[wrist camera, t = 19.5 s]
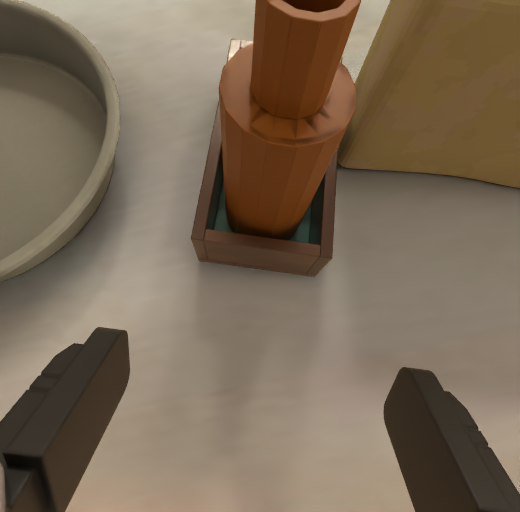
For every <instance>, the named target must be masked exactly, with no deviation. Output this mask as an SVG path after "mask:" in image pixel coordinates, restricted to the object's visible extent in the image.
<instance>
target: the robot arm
mask: <svg viewBox="0 0 520 512" xmlns="http://www.w3.org/2000/svg"><path fill="white" fill-rule="evenodd" d="M129 374H130V362H129V346H128V334H127V331H125V330H118V329H110V328H103V327H98V328H96V329H95V330H94V331H93V333H92V334H91V335H90V337H89V338H88V339H87V341H86V342H85V343H84V345H83V344H75V343H74V344H72V345H71V346H69V347H68V348H66V349H65V350H63V351H62V352H60V353H59V354H57V355H56V356H55V357H54V358H53V359H52V360H51V361H50V363H49V364H48V365H47V366H46V367H45V369H44V370H43V371H42V372H41V375H40V376H38V377H37V378H36V380H35V381H34V382H33V383H32V384H31V386H30V388H29V390H26V392H25V393H24V394H23V395H22V396H21V398H20V399H19V400H18V401H17V402H16V404H15V405H14V406H13V407H12V408H11V410H10V411H9V412H8V413H7V414H6V416H5V417H4V418H3V419H2V420H1V422H0V512H65V510H66V508H67V506H68V504H69V502H70V500H71V498H72V496H73V494H74V492H75V490H76V488H77V486H78V484H79V482H80V480H81V478H82V476H83V474H84V472H85V470H86V468H87V466H88V464H89V462H90V460H91V458H92V456H93V454H94V452H95V450H96V448H97V446H98V444H99V442H100V440H101V438H102V436H103V434H104V432H105V430H106V428H107V426H108V424H109V422H110V420H111V418H112V416H113V414H114V412H115V410H116V408H117V406H118V404H119V402H120V400H121V398H122V396H123V394H124V392H125V389H126V387H127V383H128V380H129ZM384 421H385V425H386V428H387V431H388V434H389V437H390V440H391V443H392V446H393V448H394V451H395V454H396V457H397V460H398V463H399V466H400V469H401V472H402V475H403V478H404V480H405V483H406V486H407V489H408V492H409V495H410V498H411V501H412V504H413V507H414V509H415V512H520V494H519V492H518V491H517V489H516V488H515V486H514V484H513V483H512V481H511V480H510V478H509V476H508V475H507V473H506V472H505V470H504V468H503V467H502V465H501V463H500V462H499V460H498V459H497V457H496V455H495V454H494V452H493V451H492V449H491V448H489V447H488V443H487V441H486V439H485V438H484V436H483V434H482V433H481V431H478V426H477V425H476V423H475V422H474V420H473V418H472V417H471V415H470V414H469V412H468V410H467V409H466V408H465V407H464V406H463V405H462V404H461V403H460V402H459V401H458V400H457V399H456V398H455V397H454V396H453V395H452V394H451V393H450V392H447V391H444V390H443V388H442V386H441V385H440V383H439V381H438V380H437V378H436V376H435V375H434V373H433V372H431V371H429V370H423V369H415V368H407V367H403V368H401V369H400V370H399V372H398V374H397V377H396V379H395V381H394V383H393V385H392V388H391V390H390V392H389V394H388V396H387V399H386V401H385V404H384Z"/></svg>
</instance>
